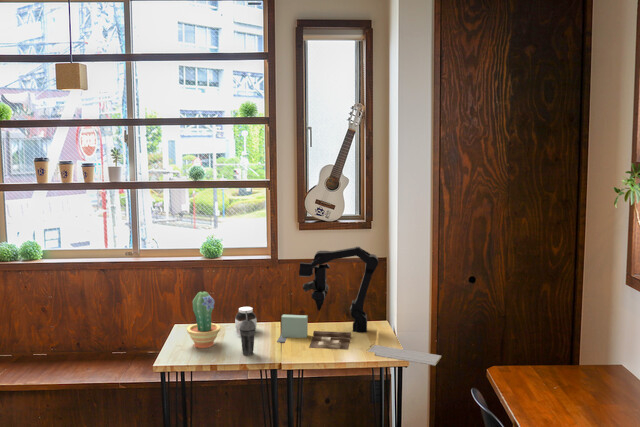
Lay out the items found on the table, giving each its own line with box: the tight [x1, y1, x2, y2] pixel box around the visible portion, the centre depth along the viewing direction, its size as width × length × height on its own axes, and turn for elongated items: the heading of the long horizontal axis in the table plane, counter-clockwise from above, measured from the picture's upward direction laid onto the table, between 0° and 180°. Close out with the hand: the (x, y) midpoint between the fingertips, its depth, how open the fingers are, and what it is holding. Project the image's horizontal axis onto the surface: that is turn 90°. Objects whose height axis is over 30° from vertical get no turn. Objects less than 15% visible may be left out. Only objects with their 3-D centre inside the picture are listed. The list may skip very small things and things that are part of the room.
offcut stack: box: [318, 337, 341, 348], centre depth 276 cm, size 10×4×4 cm, turn 83°
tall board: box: [280, 314, 309, 339], centre depth 289 cm, size 12×4×10 cm, turn 83°
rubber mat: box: [276, 332, 288, 344], centre depth 290 cm, size 14×16×1 cm
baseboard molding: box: [367, 343, 442, 367], centre depth 266 cm, size 31×3×12 cm
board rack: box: [308, 330, 352, 351], centre depth 281 cm, size 18×18×3 cm
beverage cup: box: [239, 311, 257, 357], centre depth 267 cm, size 7×7×20 cm
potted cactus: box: [186, 291, 221, 349], centre depth 278 cm, size 15×15×25 cm
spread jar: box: [234, 306, 258, 337], centre depth 296 cm, size 12×11×12 cm
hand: (320, 307), depth 298 cm, fingers open, 9 cm apart
